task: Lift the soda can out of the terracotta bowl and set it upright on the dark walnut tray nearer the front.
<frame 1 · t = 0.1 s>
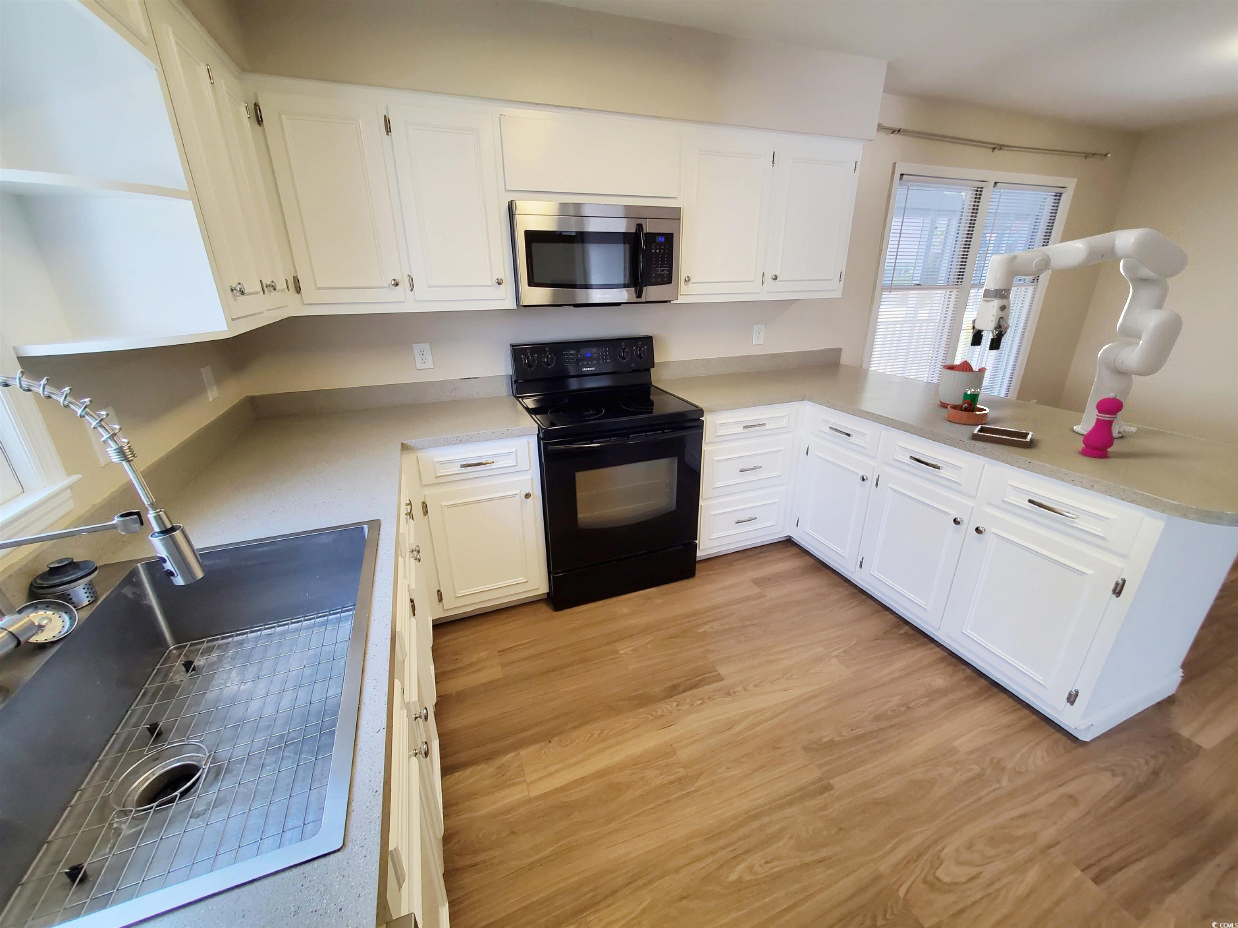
hand: (984, 348, 167), 31 cm above the counter, tool pointing down, fingers open, 9 cm apart
bowl: (965, 420, 194), on the counter
citrus juicer: (957, 406, 214), on the counter
tray: (1001, 439, 172), on the counter
pepper mill: (1093, 455, 156), on the counter
soda can: (965, 420, 194), resting on bowl
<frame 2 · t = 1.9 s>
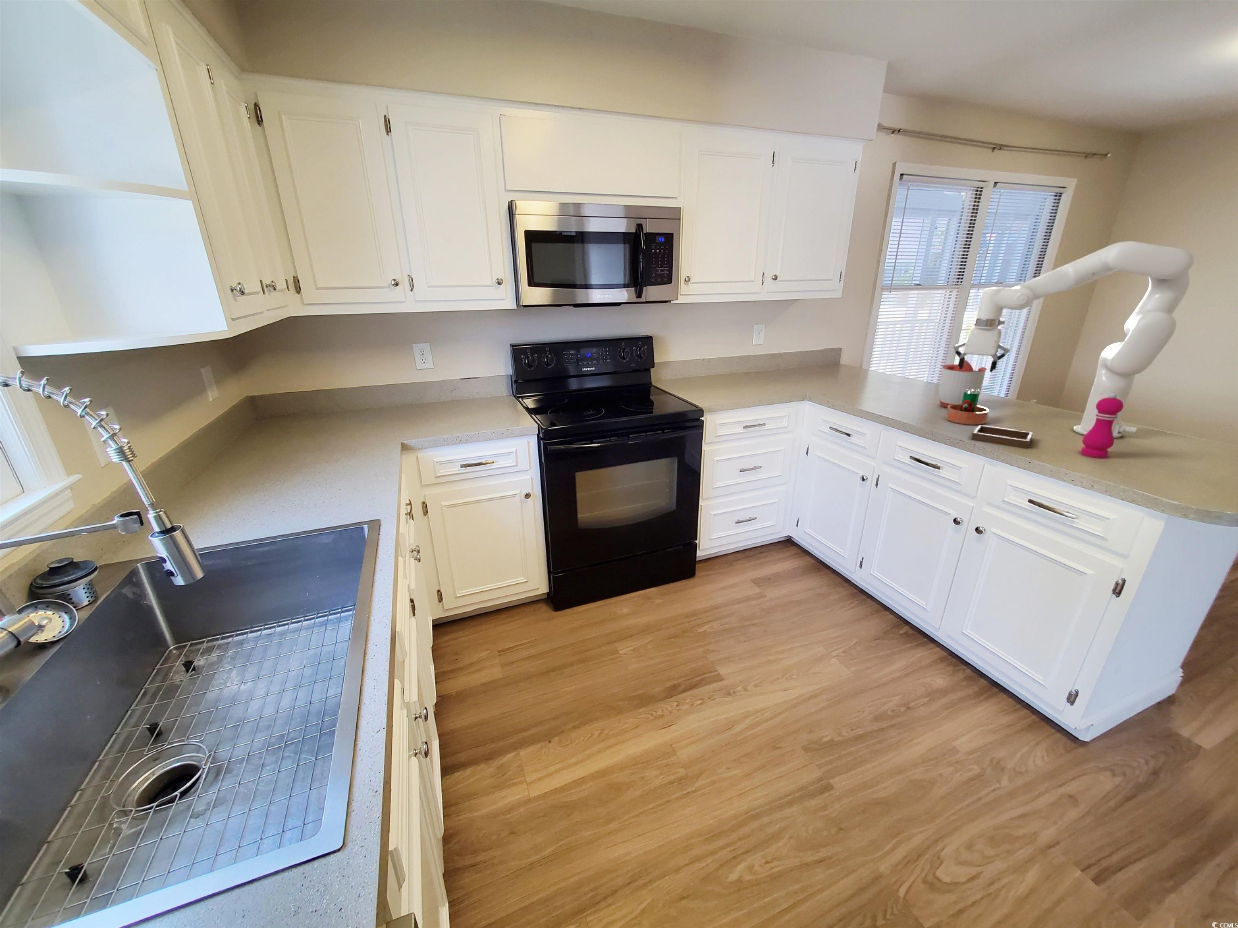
hand: (975, 370, 187), 20 cm above the counter, tool pointing down, fingers open, 9 cm apart
nothing on the counter moved.
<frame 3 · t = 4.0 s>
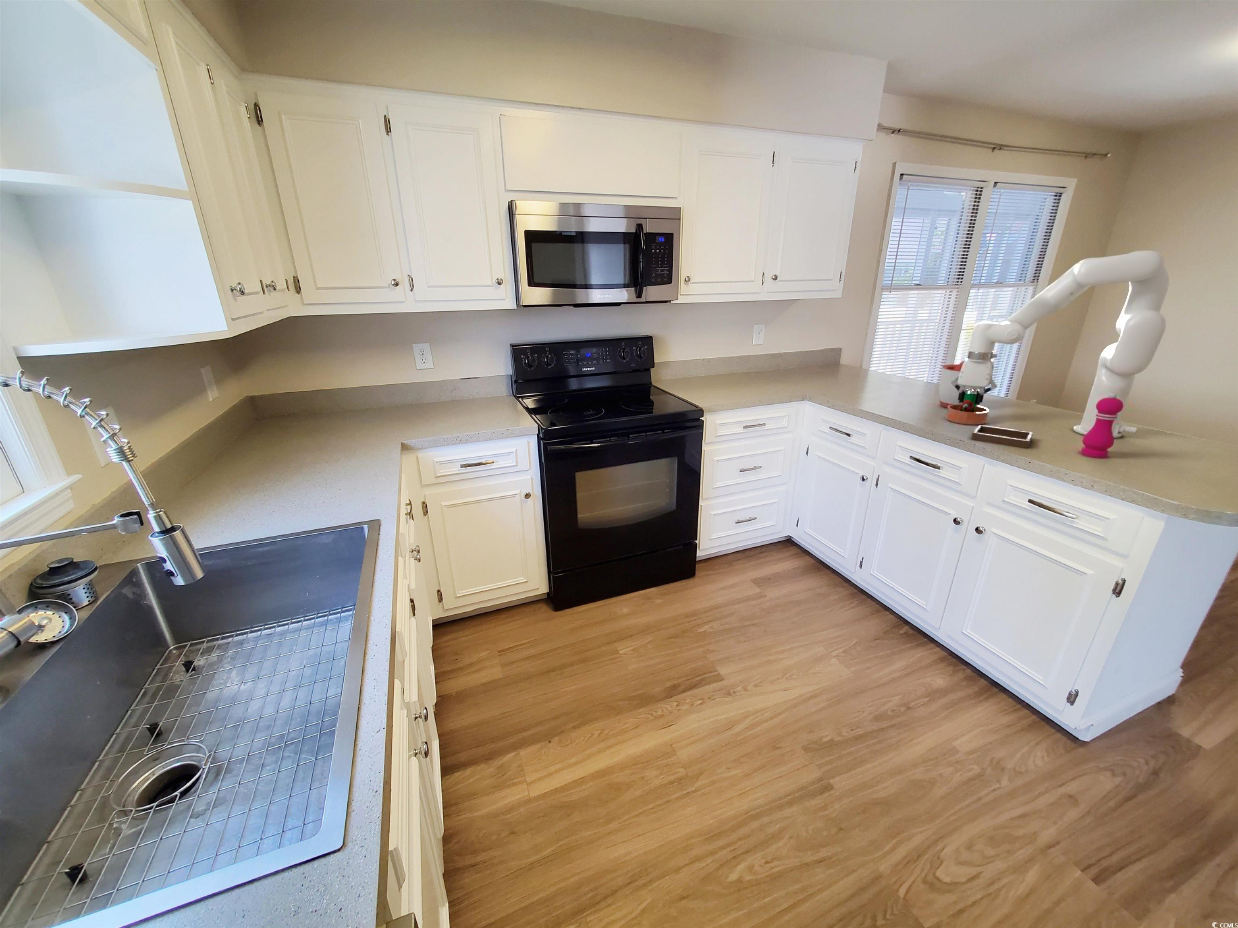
hand: (969, 402, 192), 7 cm above the counter, tool pointing down, fingers closed on soda can, 5 cm apart
soda can: (965, 420, 194), resting on bowl, touching gripper
everything else where it was.
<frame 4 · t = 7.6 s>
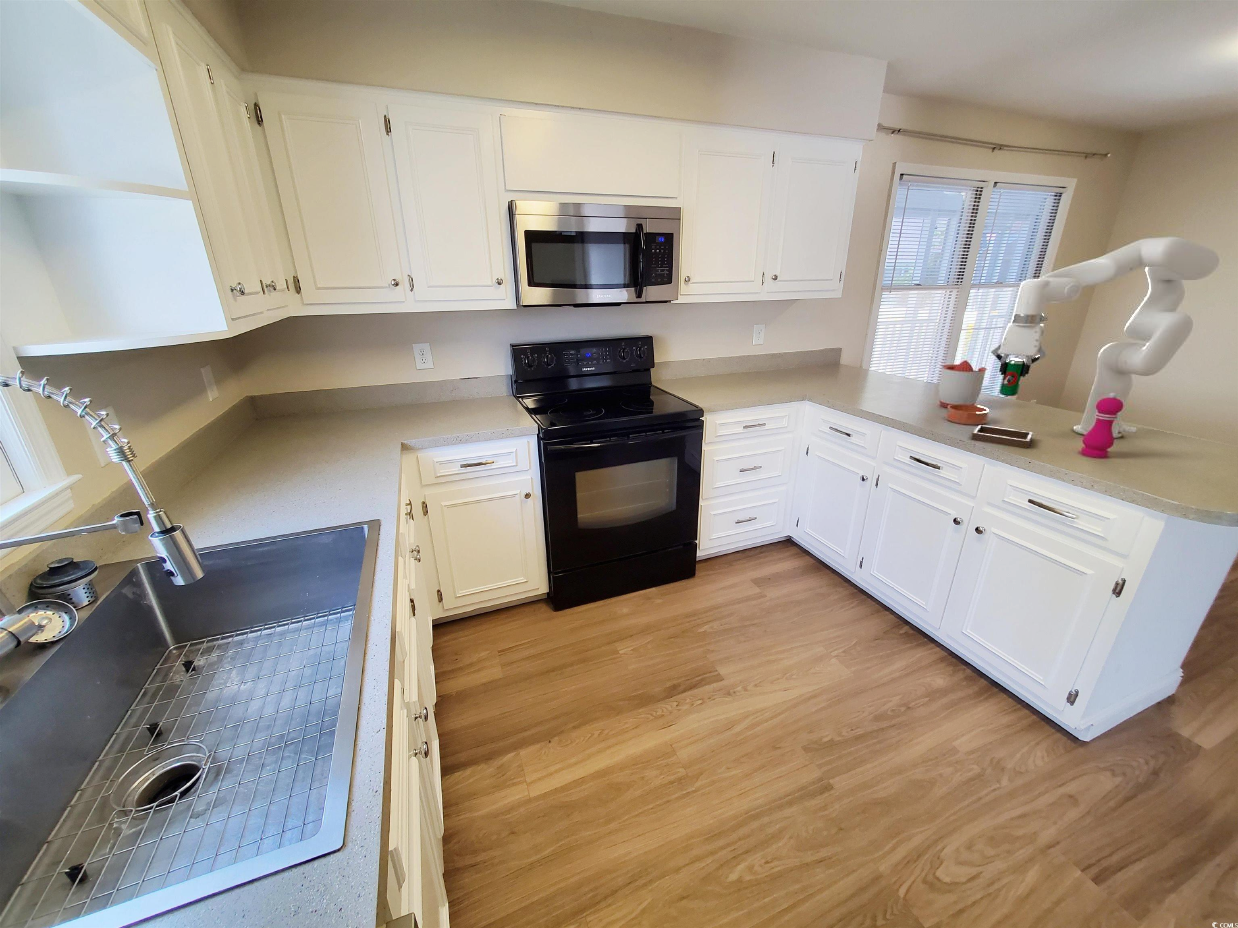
hand: (1013, 374, 167), 22 cm above the counter, tool pointing down, fingers closed on soda can, 5 cm apart
soda can: (1007, 395, 169), point 15 cm above the counter, touching gripper
everything else where it was.
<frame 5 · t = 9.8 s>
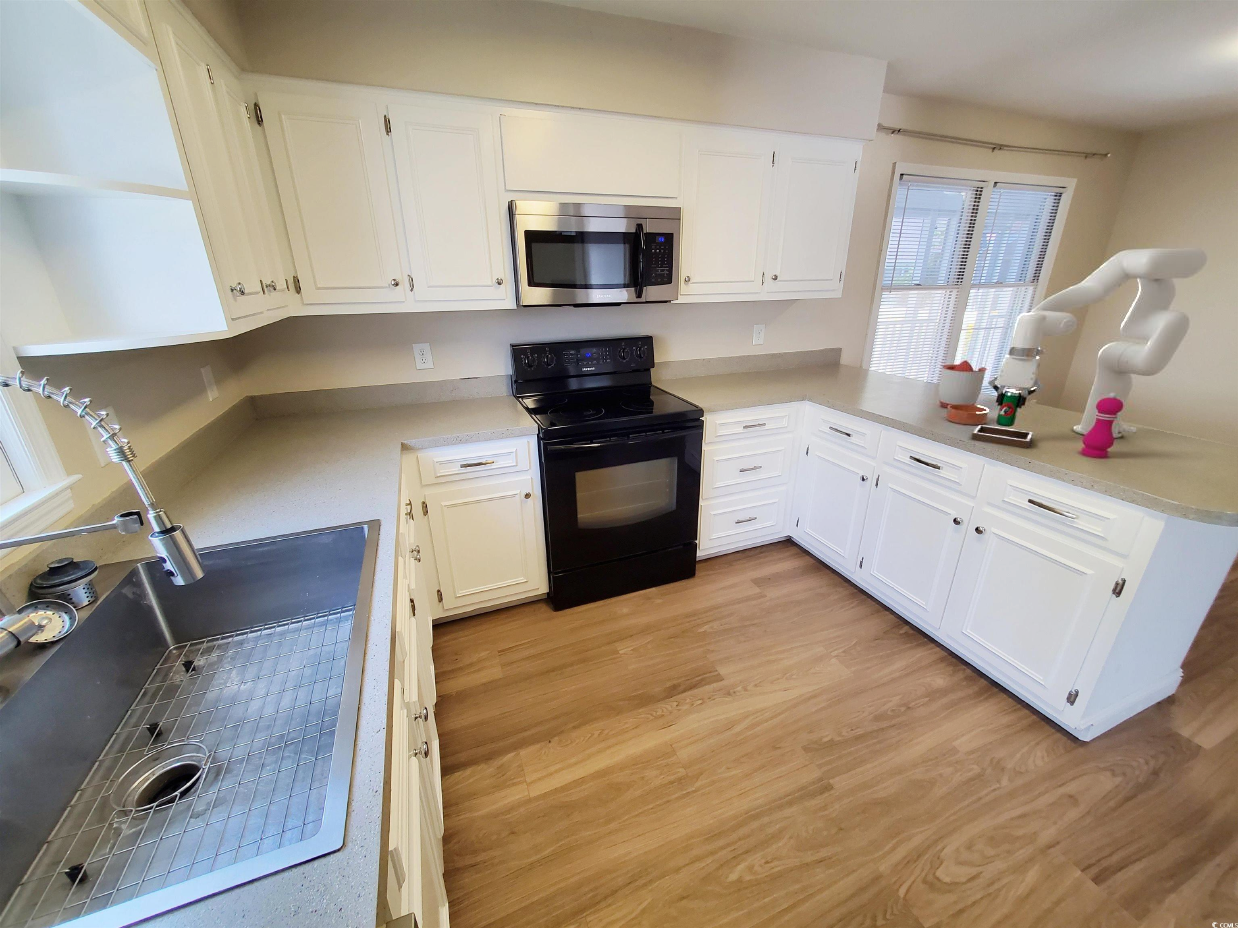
hand: (1009, 405, 168), 12 cm above the counter, tool pointing down, fingers closed on soda can, 5 cm apart
soda can: (1004, 425, 171), point 5 cm above the counter, touching gripper
everything else where it was.
when the fingers open (7 cm above the counter, at t = 11.4 s): soda can stays where it is, resting on tray.
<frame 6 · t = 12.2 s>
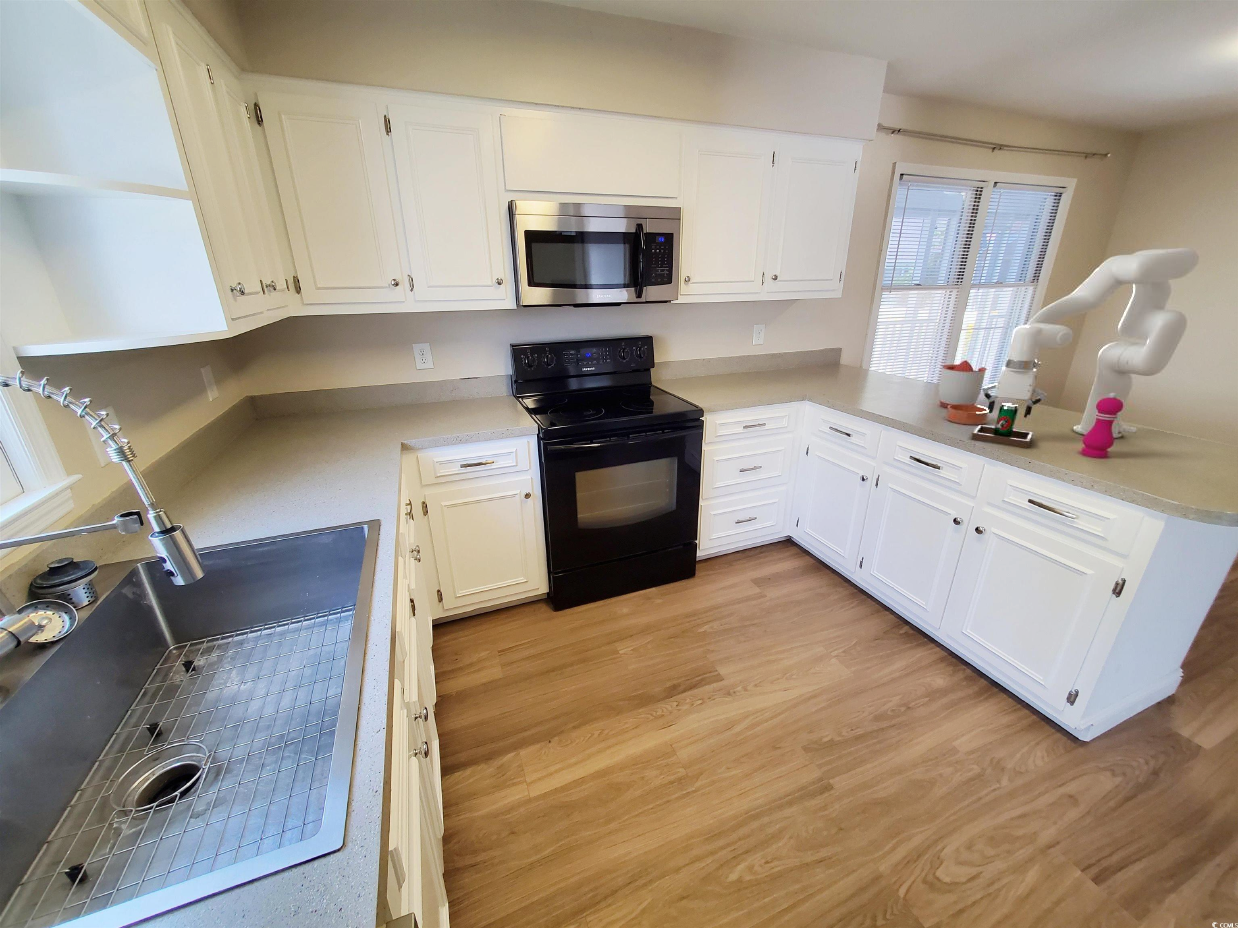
hand: (1007, 414, 169), 9 cm above the counter, tool pointing down, fingers open, 9 cm apart
soda can: (1001, 438, 172), resting on tray
everything else where it was.
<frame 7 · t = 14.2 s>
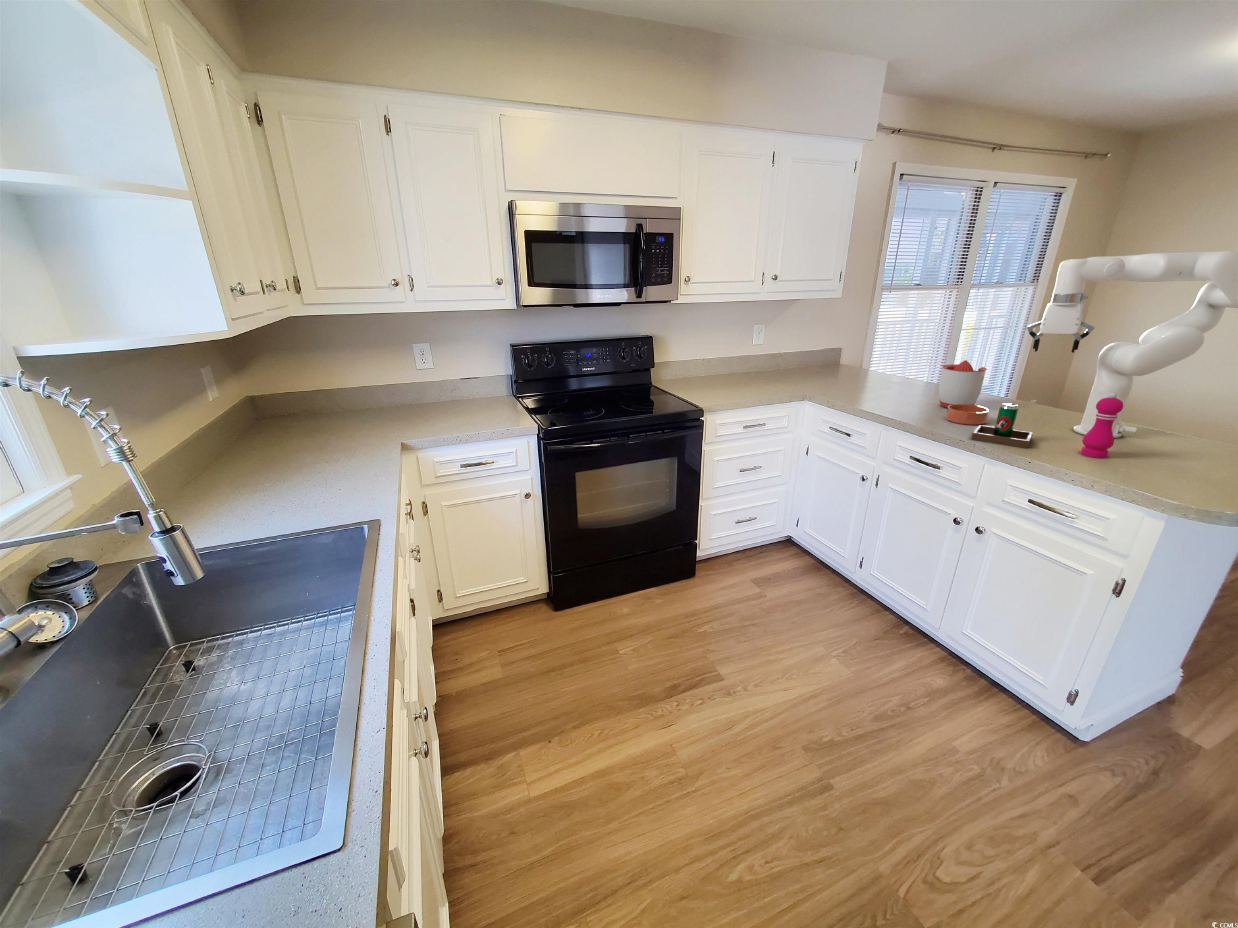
hand: (1054, 351, 169), 29 cm above the counter, tool pointing down, fingers open, 9 cm apart
nothing on the counter moved.
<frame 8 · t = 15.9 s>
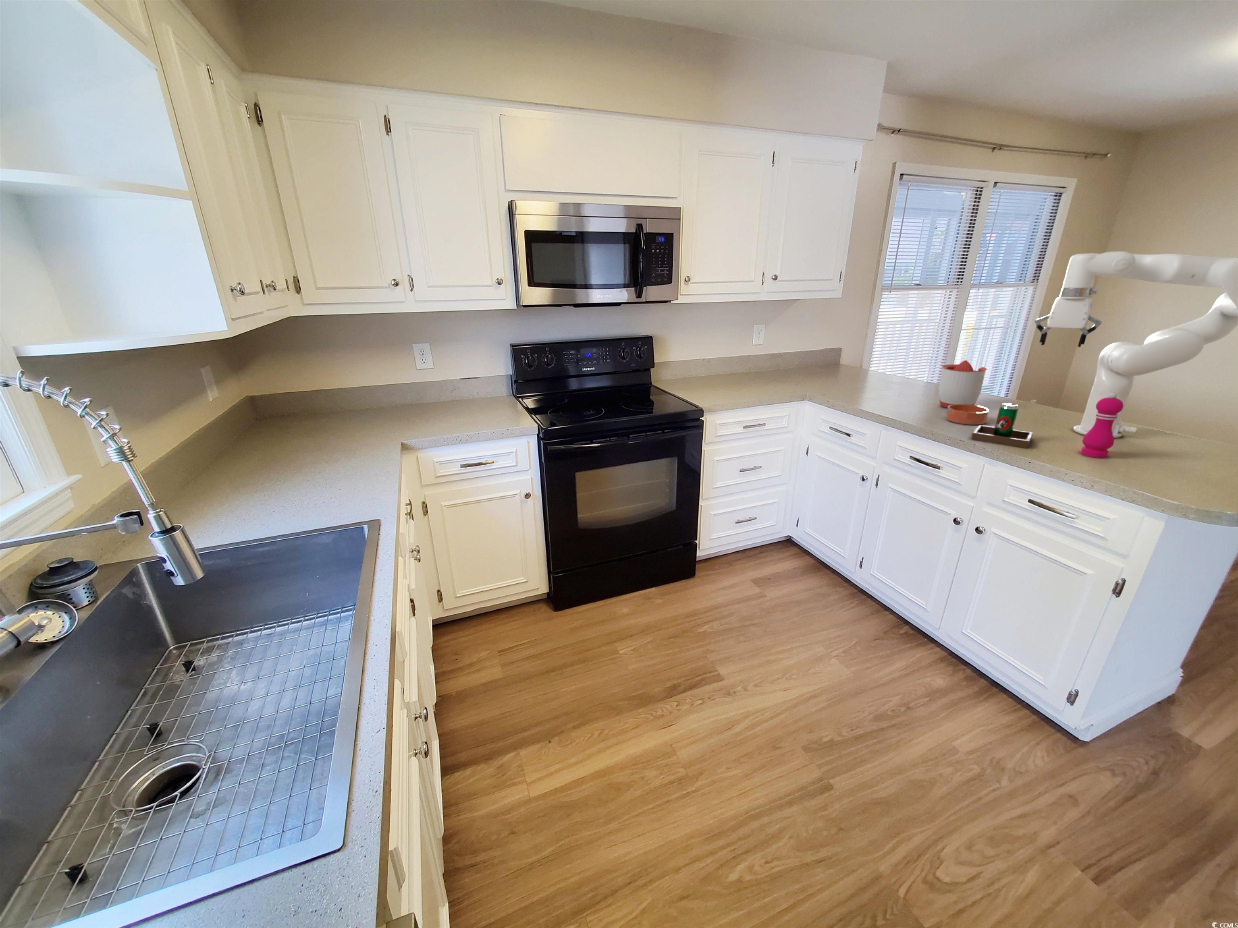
hand: (1060, 345, 170), 30 cm above the counter, tool pointing down, fingers open, 9 cm apart
nothing on the counter moved.
at the end: soda can inside the target area in the tray (0.0 cm from its centre), point 0.4 cm above the tray's base; soda can tilted 0°; the gripper is holding nothing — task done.
